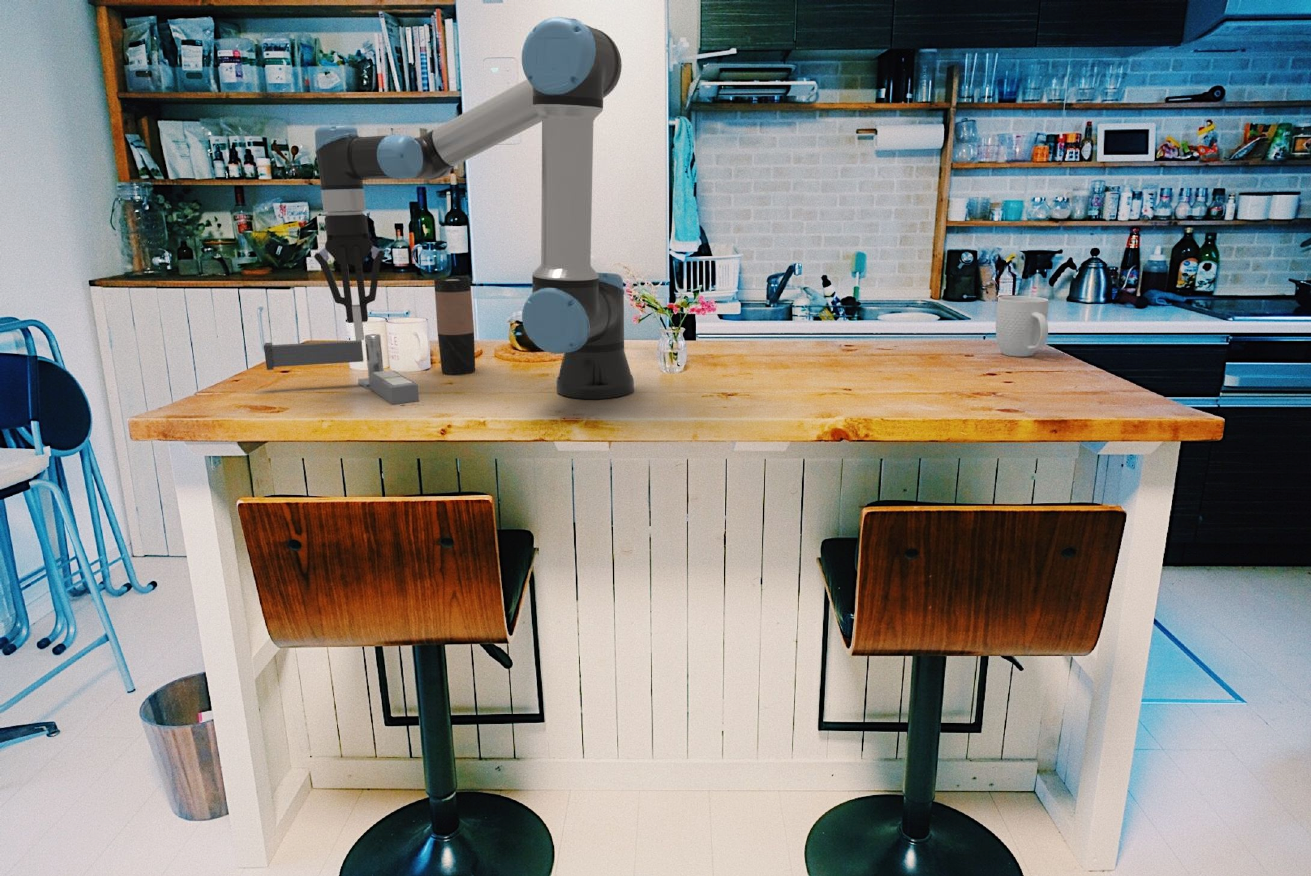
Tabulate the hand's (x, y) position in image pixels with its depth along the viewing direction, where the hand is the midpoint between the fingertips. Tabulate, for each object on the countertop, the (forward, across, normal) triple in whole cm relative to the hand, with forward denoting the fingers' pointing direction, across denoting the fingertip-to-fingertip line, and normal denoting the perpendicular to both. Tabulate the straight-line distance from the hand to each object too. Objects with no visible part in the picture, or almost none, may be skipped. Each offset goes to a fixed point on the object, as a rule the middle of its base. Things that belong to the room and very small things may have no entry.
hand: (360, 339), depth 172 cm
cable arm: (+6, +9, -6) cm, 12 cm away
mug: (+13, -146, +9) cm, 147 cm away
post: (+10, -2, -6) cm, 12 cm away
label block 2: (+11, -6, +8) cm, 15 cm away
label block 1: (+11, -4, +1) cm, 11 cm away
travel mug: (+11, -19, -14) cm, 26 cm away
